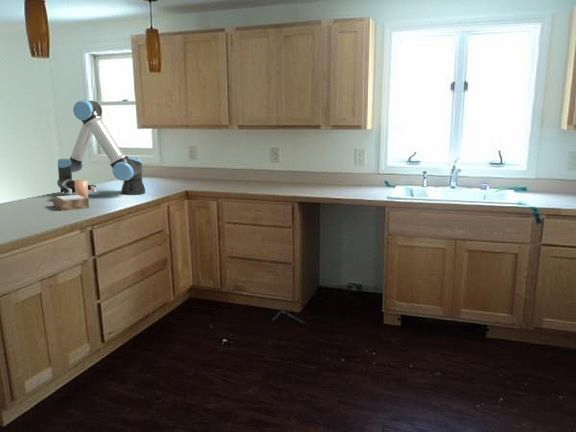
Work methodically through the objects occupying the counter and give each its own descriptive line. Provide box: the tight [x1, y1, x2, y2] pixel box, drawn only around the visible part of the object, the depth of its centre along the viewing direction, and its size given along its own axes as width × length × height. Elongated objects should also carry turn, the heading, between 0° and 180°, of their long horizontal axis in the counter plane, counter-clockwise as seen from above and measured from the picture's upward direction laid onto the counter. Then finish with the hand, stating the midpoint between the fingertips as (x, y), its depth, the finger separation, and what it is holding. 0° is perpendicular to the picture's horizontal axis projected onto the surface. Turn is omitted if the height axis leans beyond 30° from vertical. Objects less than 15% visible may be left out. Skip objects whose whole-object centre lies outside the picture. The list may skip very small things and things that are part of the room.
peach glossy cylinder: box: [74, 179, 90, 201], centre depth 270 cm, size 7×7×12 cm
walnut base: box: [52, 194, 90, 212], centre depth 252 cm, size 14×14×6 cm
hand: (83, 190), depth 267 cm, fingers open, 13 cm apart
